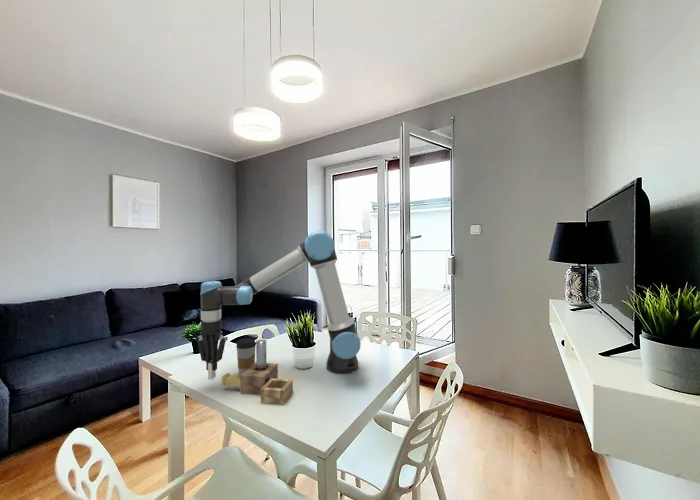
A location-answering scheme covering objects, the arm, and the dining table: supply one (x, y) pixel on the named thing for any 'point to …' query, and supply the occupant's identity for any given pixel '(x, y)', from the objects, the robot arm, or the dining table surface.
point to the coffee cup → (245, 354)
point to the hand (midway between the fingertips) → (211, 378)
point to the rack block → (276, 391)
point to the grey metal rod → (261, 355)
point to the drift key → (231, 379)
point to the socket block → (257, 378)
